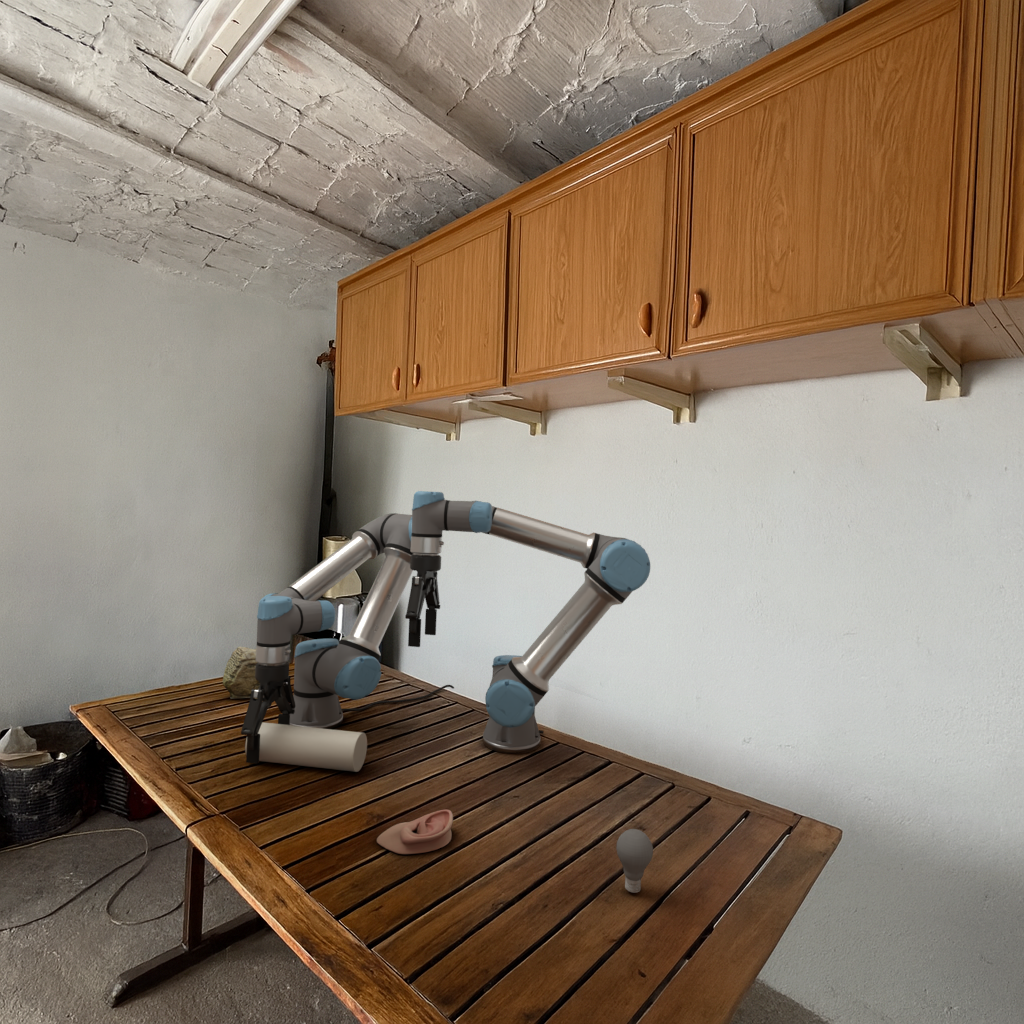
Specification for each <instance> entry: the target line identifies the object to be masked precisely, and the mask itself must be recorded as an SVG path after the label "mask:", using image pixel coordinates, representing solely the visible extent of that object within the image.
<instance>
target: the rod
mask: <svg viewBox="0 0 1024 1024" xmlns="http://www.w3.org/2000/svg"><path fill="white" fill-rule="evenodd" d="M258 734H260V752H259V762H264V763H265V762H266V763H275V764H281V765H283V764H284V765H292V766H301V767H310V768H319V769H326V770H327V769H328V770H335V771H345V772H354V773H357V772H359V771H360V770H361V769H362V767H363V765H364V764H365V760H366V756H367V751H368V737H367V734H366V733H365V732H361V731H360V732H359V731H351V730H341V729H323V728H313V727H303V726H294V725H284V724H278V723H274V722H262V724H261V727H260V729H259V732H258ZM244 752H245V756H246V755H247V738H246V740H245V744H244Z"/></svg>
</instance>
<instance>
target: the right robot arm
mask: <svg viewBox="0 0 1024 1024" xmlns="http://www.w3.org/2000/svg"><path fill="white" fill-rule="evenodd" d="M411 515H412V536H411V552H412V553H413V554H412V555H411V557H410V569H411V570H413V571H415V572H416V575H415V576H414V575H413V576H412V577H411V587H410V591H409V597H408V603H407V608H406V613H405V617H404V618H405V619H407V620H408V636H407V637H408V639H407V647H414V648H420V647H421V637H422V636H421V634H422V618H421V615H422V611H423V608H424V602H425V604H426V608H425V619H424V635H425V636H436V635H437V617H438V616H437V614H438V612H437V611H438V610H440V609H441V604H440V603H441V602H440V594H439V593H440V592H439V583H438V572H439V571H441V569H442V556H441V553H442V547H443V546H444V545H445V542H444V541H443V531H445V532H462V533H474V534H478V533H482V534H486V535H489V536H492V537H496V538H499V539H503V540H505V541H508V542H512V543H515V544H519V545H522V546H525V547H528V548H532V549H535V550H538V551H541V552H545V553H548V554H551V555H553V556H557V557H561V558H564V559H566V560H567V559H568V560H571V561H574V562H577V563H580V564H581V567H582V568H584V569H586V570H585V571H584V573H583V575H584V582H583V583H582V584H581V585H580V587H579V588H578V589H577V591H575V592H574V594H573V595H572V597H571V598H570V599H569V600H568V601H567V602H566V603H565V605H564V606H563V607H562V608H561V609H560V611H559V612H558V613H556V615H555V616H554V618H553V619H552V620H551V621H550V622H549V624H548V625H547V626H546V627H545V628H544V629H543V631H542V632H541V633H540V635H538V637H537V638H535V640H534V641H533V643H531V645H530V646H529V647H528V649H527V650H526V651H525V652H524V653H523V655H518V654H517V655H514V654H503V655H497V656H495V657H494V658H493V661H492V665H491V667H492V677H491V680H490V683H489V686H488V688H487V691H486V693H485V696H484V697H485V708H486V711H487V712H486V713H487V714H488V715H489V717H488V719H487V723H486V725H485V727H484V728H485V729H484V730H483V733H482V744H483V745H484V747H486V748H487V749H489V750H491V751H494V752H498V753H502V754H526V753H531V752H534V751H535V750H537V749H538V748H539V747H540V746H541V735H543V734H544V733H545V731H544V730H541V729H539V726H538V723H537V718H536V714H535V713H536V706H537V705H538V704H539V703H540V701H542V699H543V698H544V697H545V696H546V694H547V693H548V692H549V691H550V680H551V679H552V677H553V676H554V675H555V674H556V672H557V671H558V670H559V669H560V668H561V667H562V666H563V664H564V663H565V662H566V661H567V660H568V659H569V658H570V656H571V655H572V654H573V653H574V651H575V650H576V649H577V648H578V646H579V645H580V644H581V643H582V642H583V641H584V639H585V638H586V637H587V636H588V635H589V634H590V632H592V630H593V629H594V628H595V626H596V625H597V624H598V623H599V622H600V621H601V619H602V618H603V617H604V616H605V614H606V613H607V612H608V611H609V610H610V609H611V608H612V606H615V605H617V606H618V605H622V604H623V603H624V602H625V601H626V600H627V599H628V598H629V597H630V595H631V594H632V593H633V592H635V591H637V590H638V589H640V588H641V587H642V586H643V585H644V584H645V583H646V582H647V580H648V578H649V576H650V573H651V561H650V557H649V553H647V551H646V550H645V549H646V548H644V547H643V546H642V545H641V544H639V543H637V542H636V541H635V540H632V539H628V538H626V537H618V536H610V535H604V534H602V533H601V534H600V533H597V532H592V533H590V534H587V533H584V532H581V531H577V530H574V529H570V528H567V527H563V526H560V525H557V524H554V523H550V522H547V521H544V520H540V519H537V518H534V517H531V516H527V515H523V514H520V513H517V512H514V511H510V510H508V509H504V508H501V507H495V506H493V505H492V504H491V503H490V502H486V501H481V500H448V499H445V494H444V493H443V491H426V490H418V491H416V492H415V493H414V494H413V499H412V508H411Z"/></svg>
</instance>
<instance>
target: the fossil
mask: <svg viewBox="0 0 1024 1024" xmlns="http://www.w3.org/2000/svg"><path fill="white" fill-rule="evenodd" d="M257 663H258V662H256V648H251V647H247V646H246V647H245V646H238V647H237V648H236V649H235V650H233V651H232V653H231V656H230V657H229V659H228V660H227V663H226V666H225V668H224V671H223V675H222V676H223V677H222V685H223V687H224V688H225V690H226V691H228V693H229V698H230V699H250V697H251V690H252V689H257V690H258V689H259V687H260V682H259V681H258V680H256V679H255V665H256V664H257Z"/></svg>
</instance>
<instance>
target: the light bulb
mask: <svg viewBox="0 0 1024 1024" xmlns="http://www.w3.org/2000/svg"><path fill="white" fill-rule="evenodd" d="M615 849H616V854H617V857H618V859H619V861H620V863H621V865H622V867H623V873H624V874H623V875H624V876H625V878H624V888H625V890H627V891H628V892H630V893H634V894H635V893H639V892H640V891H641V889H642V887H641V886H642V879H643V877H644V875H645V871H646V868H647V867H648V866H649V864H650V863H651V861H652V859H653V855H654V847H653V843H652V841H651V838H649V836H648V835H647V834H646V833H645V832H643V831H642V830H641V829H636V828H629V829H627V830H625V831H623V832H622V833H621V834H620V835H619V837H618V839H617V841H616V847H615Z"/></svg>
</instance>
